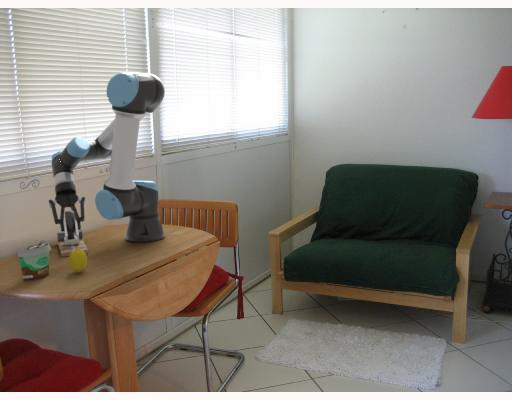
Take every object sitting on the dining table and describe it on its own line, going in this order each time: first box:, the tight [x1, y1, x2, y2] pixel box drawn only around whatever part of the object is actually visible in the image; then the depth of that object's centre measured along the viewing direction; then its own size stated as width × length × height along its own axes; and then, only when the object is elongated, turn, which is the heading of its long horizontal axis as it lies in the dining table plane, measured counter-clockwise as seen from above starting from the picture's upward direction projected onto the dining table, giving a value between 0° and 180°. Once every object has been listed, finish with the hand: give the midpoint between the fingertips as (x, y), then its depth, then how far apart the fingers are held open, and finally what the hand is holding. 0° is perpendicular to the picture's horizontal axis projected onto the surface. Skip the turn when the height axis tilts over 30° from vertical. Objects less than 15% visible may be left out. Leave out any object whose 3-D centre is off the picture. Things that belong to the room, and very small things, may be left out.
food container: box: [17, 240, 52, 282], centre depth 169 cm, size 12×6×10 cm, turn 168°
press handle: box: [64, 210, 80, 246], centre depth 201 cm, size 5×5×12 cm
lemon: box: [68, 248, 88, 273], centre depth 172 cm, size 6×6×8 cm
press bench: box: [56, 229, 89, 258], centre depth 202 cm, size 20×9×4 cm, turn 23°
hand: (72, 237), depth 198 cm, fingers closed on press handle, 3 cm apart
